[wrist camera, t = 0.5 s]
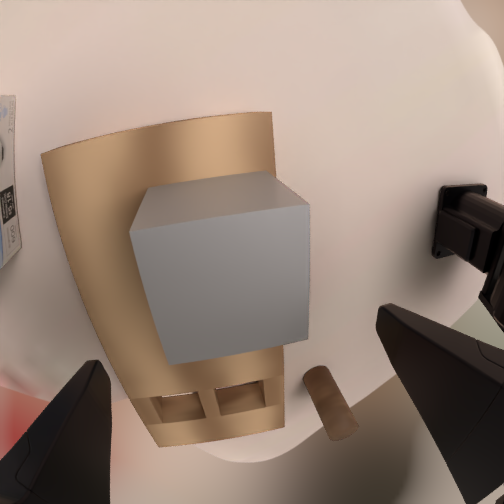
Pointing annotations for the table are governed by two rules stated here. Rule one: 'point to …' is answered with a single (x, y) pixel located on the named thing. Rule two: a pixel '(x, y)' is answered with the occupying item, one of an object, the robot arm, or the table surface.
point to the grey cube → (224, 264)
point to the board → (130, 283)
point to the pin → (330, 403)
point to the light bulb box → (7, 182)
